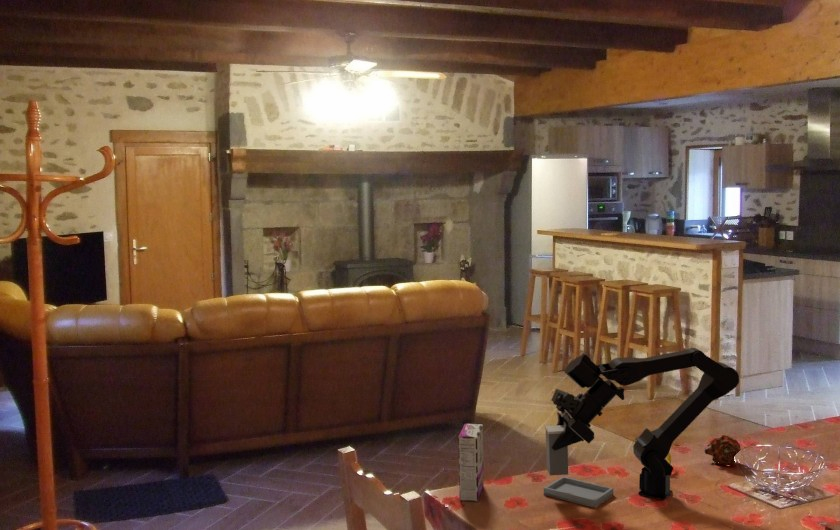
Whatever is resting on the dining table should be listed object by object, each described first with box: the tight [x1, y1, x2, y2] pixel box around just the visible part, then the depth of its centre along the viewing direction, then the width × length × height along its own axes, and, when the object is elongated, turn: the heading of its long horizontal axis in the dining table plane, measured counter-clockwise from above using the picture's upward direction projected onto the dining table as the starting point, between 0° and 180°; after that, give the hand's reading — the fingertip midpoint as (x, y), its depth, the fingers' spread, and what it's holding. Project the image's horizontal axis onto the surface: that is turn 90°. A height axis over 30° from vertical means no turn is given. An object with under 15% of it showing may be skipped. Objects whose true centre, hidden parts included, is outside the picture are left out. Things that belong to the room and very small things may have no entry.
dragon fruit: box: [703, 434, 742, 466], centre depth 223 cm, size 8×8×12 cm
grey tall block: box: [544, 425, 569, 476], centre depth 200 cm, size 5×5×11 cm
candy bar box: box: [457, 423, 485, 503], centre depth 203 cm, size 11×5×16 cm, turn 168°
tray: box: [543, 476, 614, 509], centre depth 201 cm, size 14×10×2 cm
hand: (551, 446), depth 200 cm, fingers closed on grey tall block, 4 cm apart
